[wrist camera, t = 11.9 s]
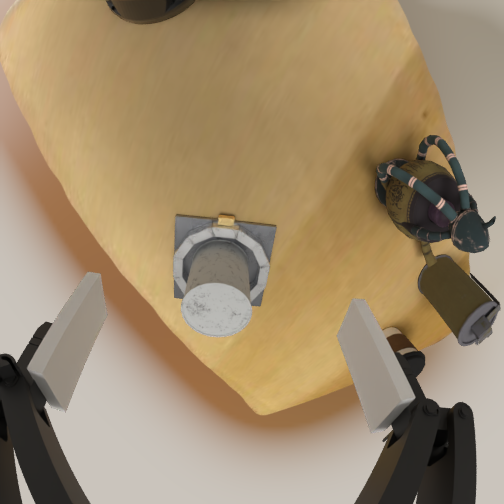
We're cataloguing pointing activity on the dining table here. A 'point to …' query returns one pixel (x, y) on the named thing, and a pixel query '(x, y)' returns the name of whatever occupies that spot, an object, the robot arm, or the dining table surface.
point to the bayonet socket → (226, 228)
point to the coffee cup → (405, 349)
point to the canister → (459, 300)
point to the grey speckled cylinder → (218, 290)
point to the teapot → (431, 201)
